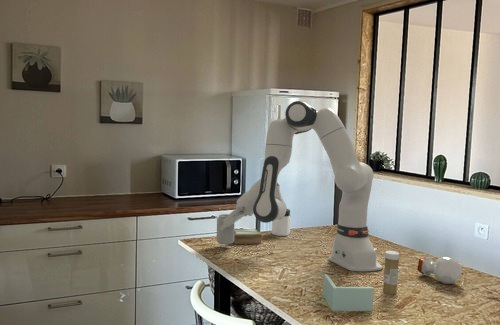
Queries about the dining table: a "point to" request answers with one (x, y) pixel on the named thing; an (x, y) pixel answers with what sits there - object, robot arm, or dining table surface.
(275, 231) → the jar
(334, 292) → the right angle wall
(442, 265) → the potion bottle
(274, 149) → the robot arm
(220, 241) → the can
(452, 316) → the dining table surface
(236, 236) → the picture frame
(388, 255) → the sprinkles bottle
